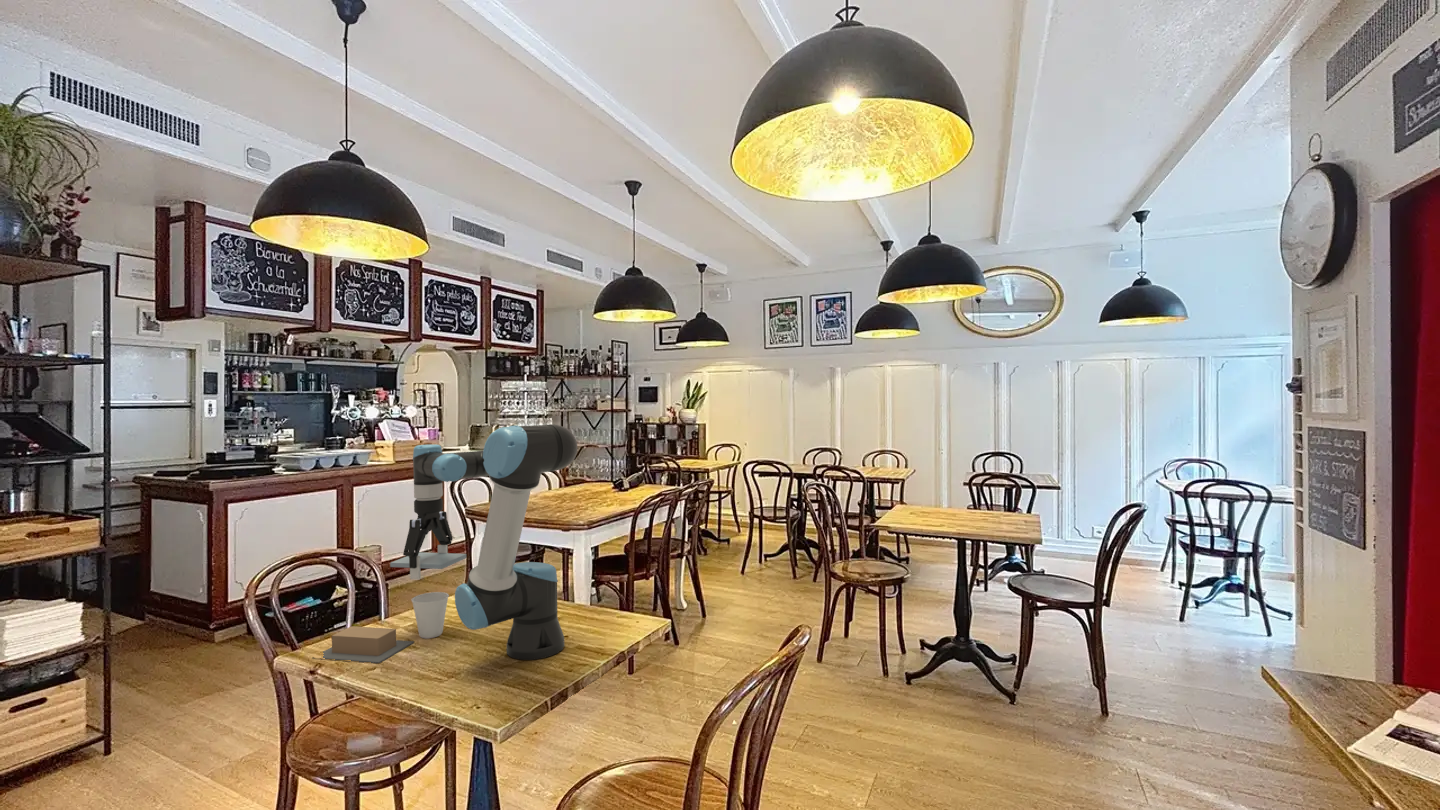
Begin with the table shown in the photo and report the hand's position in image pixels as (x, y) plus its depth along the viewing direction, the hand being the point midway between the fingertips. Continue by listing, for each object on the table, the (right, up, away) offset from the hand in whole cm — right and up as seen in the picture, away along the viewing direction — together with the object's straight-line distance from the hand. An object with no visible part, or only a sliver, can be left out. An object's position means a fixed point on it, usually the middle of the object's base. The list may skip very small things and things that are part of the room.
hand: (429, 572), depth 183 cm
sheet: (0, +3, 0) cm, 3 cm away
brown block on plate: (-13, -18, -11) cm, 25 cm away
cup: (0, -18, 0) cm, 18 cm away
